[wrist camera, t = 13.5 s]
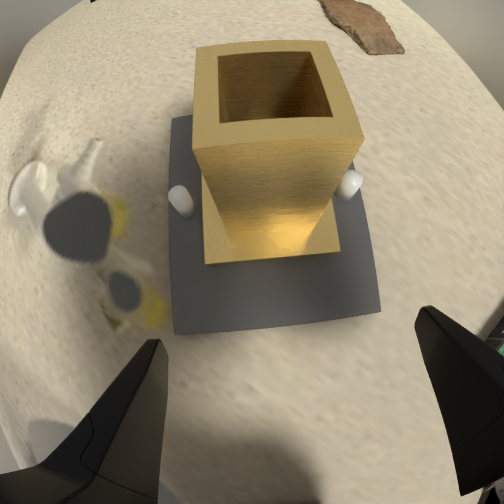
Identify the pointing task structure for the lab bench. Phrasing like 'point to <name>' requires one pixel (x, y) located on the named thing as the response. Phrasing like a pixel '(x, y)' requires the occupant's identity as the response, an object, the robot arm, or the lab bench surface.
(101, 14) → the lab bench surface
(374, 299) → the base plate
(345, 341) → the lab bench surface
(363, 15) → the pottery shard
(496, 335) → the disk drive
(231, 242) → the brass sleeve
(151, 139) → the lab bench surface
